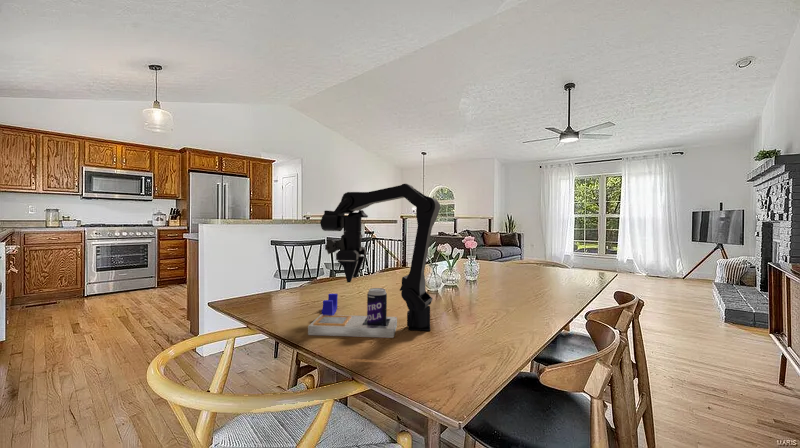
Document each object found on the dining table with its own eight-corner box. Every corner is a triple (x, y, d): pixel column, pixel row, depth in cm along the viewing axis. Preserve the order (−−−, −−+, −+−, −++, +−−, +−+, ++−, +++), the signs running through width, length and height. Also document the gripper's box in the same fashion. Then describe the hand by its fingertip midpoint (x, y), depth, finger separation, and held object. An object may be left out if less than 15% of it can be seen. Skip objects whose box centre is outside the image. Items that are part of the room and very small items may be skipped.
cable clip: (324, 310, 125) (324, 293, 125) (337, 310, 125) (337, 293, 125) (318, 319, 113) (318, 301, 113) (331, 319, 113) (332, 301, 113)
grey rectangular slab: (396, 324, 107) (397, 315, 107) (393, 337, 95) (393, 327, 95) (320, 322, 109) (320, 313, 109) (308, 334, 97) (308, 324, 97)
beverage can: (364, 328, 103) (365, 288, 103) (382, 326, 105) (382, 287, 105) (370, 334, 98) (370, 292, 98) (389, 332, 100) (389, 290, 100)
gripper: (335, 230, 122) (334, 274, 122) (319, 232, 103) (318, 284, 103) (366, 230, 121) (366, 275, 121) (356, 232, 102) (355, 285, 103)
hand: (351, 279), depth 112 cm, fingers open, 9 cm apart
